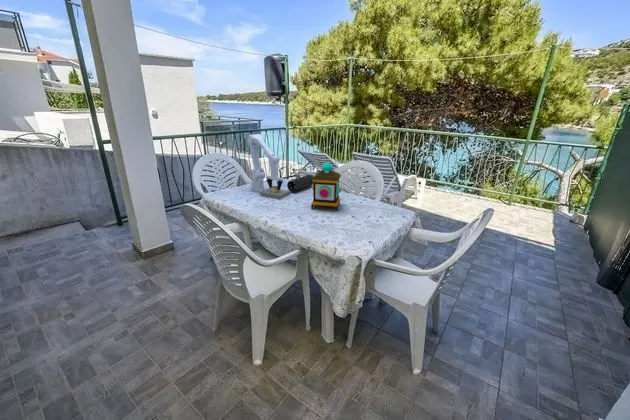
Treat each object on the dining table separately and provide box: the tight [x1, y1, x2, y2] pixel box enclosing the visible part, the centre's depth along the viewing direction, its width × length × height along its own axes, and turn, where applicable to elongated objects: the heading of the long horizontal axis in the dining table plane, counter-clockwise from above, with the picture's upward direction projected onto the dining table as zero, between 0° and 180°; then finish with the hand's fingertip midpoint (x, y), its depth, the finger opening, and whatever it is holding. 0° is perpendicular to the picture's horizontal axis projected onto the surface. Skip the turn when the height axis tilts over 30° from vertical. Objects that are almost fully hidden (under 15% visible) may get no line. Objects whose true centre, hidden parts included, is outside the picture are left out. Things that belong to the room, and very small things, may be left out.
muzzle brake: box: [286, 174, 315, 194], centre depth 228 cm, size 10×28×10 cm, turn 147°
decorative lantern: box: [310, 162, 342, 212], centre depth 185 cm, size 20×20×30 cm
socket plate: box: [259, 188, 291, 200], centre depth 212 cm, size 18×14×3 cm
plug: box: [271, 185, 279, 193], centre depth 211 cm, size 4×4×7 cm
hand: (275, 189), depth 211 cm, fingers open, 7 cm apart
